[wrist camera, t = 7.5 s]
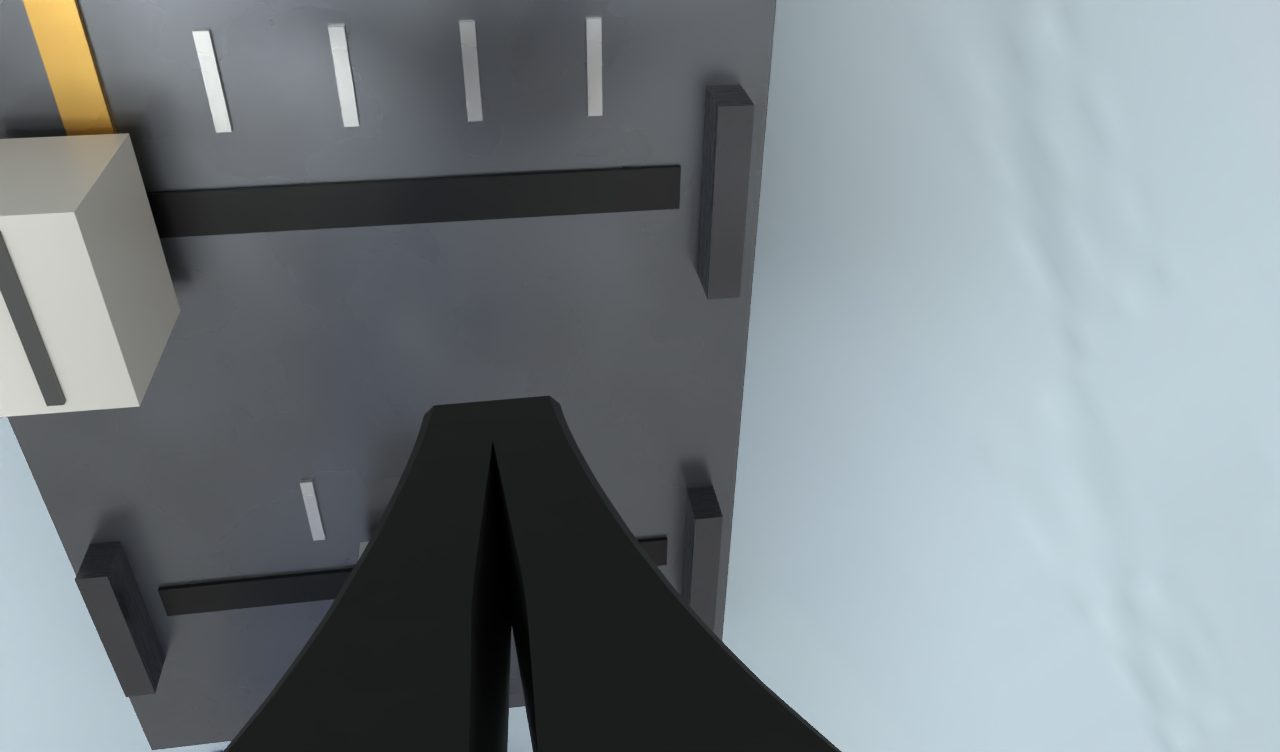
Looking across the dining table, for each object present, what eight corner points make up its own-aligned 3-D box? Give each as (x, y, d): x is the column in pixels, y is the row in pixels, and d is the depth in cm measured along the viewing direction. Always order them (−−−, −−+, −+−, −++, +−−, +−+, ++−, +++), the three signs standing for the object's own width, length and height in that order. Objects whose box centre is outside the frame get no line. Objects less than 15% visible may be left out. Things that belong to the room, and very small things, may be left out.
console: (703, 624, 28) (727, 715, 26) (170, 683, 26) (141, 787, 24) (759, -212, 17) (812, -191, 14) (-180, -210, 15) (-304, -185, 12)
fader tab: (180, 310, 18) (138, 410, 15) (44, 319, 17) (-20, 422, 15) (129, 133, 16) (72, 215, 13) (-24, 140, 15) (-109, 225, 13)
